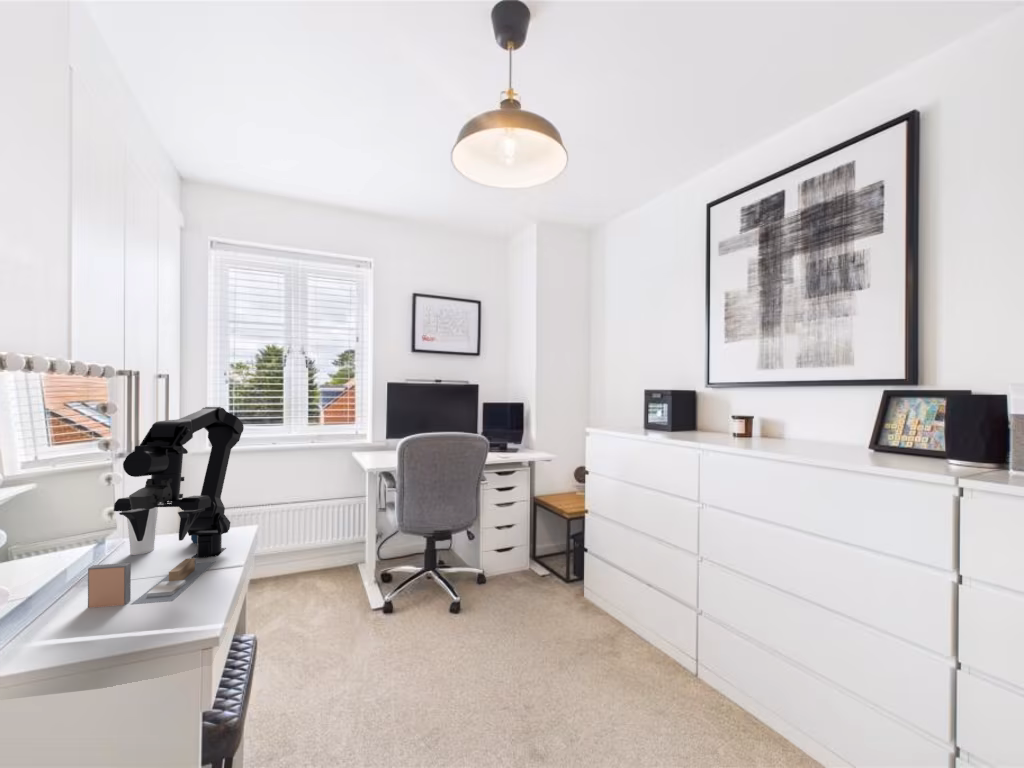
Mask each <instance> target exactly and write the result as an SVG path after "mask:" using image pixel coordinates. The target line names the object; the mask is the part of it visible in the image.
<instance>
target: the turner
mask: <svg viewBox="0 0 1024 768" xmlns="http://www.w3.org/2000/svg"><path fill="white" fill-rule="evenodd" d="M195 561H196V558H194V557H193V558H185V559H183V561H181V562H179V564H177V565H176V566H175V567H174V568H172V569H171V570H170V571H168V575H169V581H165V582H161V583H159V584H158V585H157V586H156V587H154V588H153V589H152V590H151V591H149V592H148V593H147V597H154V596H167V595H173V594H174V593H175V592H176V591H177V590H178V589H180V588H181V587H182V586H183V585H184V584H185V583H186V580H184V579H185V578H186V577H187V576H188V575H189V574H191V573H192V572H193V571H194V570H195V563H196V562H195Z"/></svg>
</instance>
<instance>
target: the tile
mask: <svg viewBox="0 0 1024 768" xmlns="http://www.w3.org/2000/svg"><path fill="white" fill-rule="evenodd" d="M131 564H132V563H131V562H125V563H108V564H107V563H106V564H95V565H94V564H93V565H92V566H90V567H88V568H87V609H88V608H101V607H102V608H103V607H104V608H105V607H116V606H124V605H127V604H128V603H130V602H131V600H132V599H131V596H132V594H131V591H132V590H131V587H132V586H131V575H132V571H131V570H132V568H131V567H132V565H131Z"/></svg>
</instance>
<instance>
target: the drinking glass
mask: <svg viewBox="0 0 1024 768" xmlns="http://www.w3.org/2000/svg"><path fill="white" fill-rule="evenodd" d="M158 514H159V507H155V508H152V509H150V510H149V515H148V520H147V525H146V530H145V534H144V537H143V540H142V541H137V538H136V535H135V533H134V530H133V527H132V525H131V522H130V521H129V519H128V518H127V517H126V520H127V521H126V523H127V530H128V539H129V553H130V555H131V556H135V555H143V554H147V553H150V552H153V551H155V543H156V542H155V541H156V534H157V533H156V531H157V523H158V522H157V521H158Z"/></svg>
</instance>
